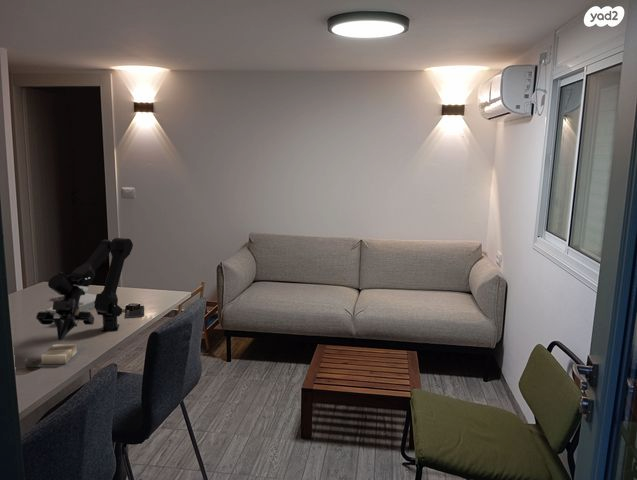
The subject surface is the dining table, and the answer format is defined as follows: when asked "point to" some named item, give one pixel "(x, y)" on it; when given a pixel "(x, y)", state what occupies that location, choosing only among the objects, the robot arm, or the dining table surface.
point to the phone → (135, 313)
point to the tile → (59, 354)
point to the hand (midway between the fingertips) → (59, 339)
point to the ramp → (81, 303)
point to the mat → (79, 351)
